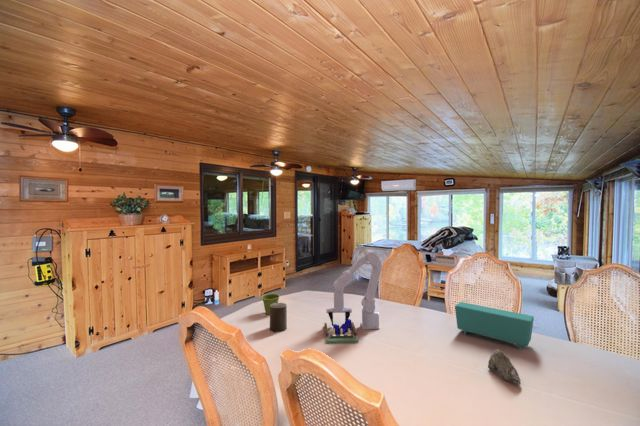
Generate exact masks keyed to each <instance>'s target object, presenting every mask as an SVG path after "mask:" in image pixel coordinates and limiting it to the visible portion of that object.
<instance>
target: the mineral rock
mask: <svg viewBox="0 0 640 426" xmlns="http://www.w3.org/2000/svg"><path fill="white" fill-rule="evenodd" d="M487 363H488V364H487V368H488V369H489V370H491V371H493V373H494V374H496V375H498V376H499V378H502V380H504V381H508V382H511V383H514V384H516V385H518V386H519V385H521V381H522V380H521V378H520V375H519V373H518V370H517V369H516V367H514V365H513V364H512V362H511V360H510V357H509V356H508V354H505V352H504V351H501V350H500V349H497V348H496V349H495V350H493V352H492V353H491V354H490V357H489V359H488V362H487Z"/></svg>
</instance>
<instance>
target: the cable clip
mask: <svg viewBox="0 0 640 426" xmlns="http://www.w3.org/2000/svg"><path fill="white" fill-rule="evenodd" d="M351 322H352V319H350V318H348V319H345V318H344V323H342V324H341V326H340V325H339V324H336V323H333V326H332V327H333V328H332V330H333V329H335V335H341V331H340V329H342V334H343V335H346V334H348V328H350V332H351V331H352V327H351Z"/></svg>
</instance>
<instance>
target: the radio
mask: <svg viewBox="0 0 640 426" xmlns="http://www.w3.org/2000/svg"><path fill="white" fill-rule="evenodd" d="M454 309H455V317H456V328H457V329H458V330H461V331H464V333H463V334H464V335H466V334H467V332H469V333H473V334H477V335H481V336H484V337H488V338H493V339H496V340H501V341H504V342H507V343H511V344H515V346H516V347H517V349H519V350H521V349H522V348H524V347H528V346H529V344H530V342H531V340H532V333H533V325H534V321H535V320H534V316H533V315H528V314H524V313H520V312H515V311H508V310H505V309H504V310H503V309H500V308H499V309H498V308H494V307H488V306H483V305H479V304H474V303H473V304H472V303H468V302H463V301H460V302H458V303H457V304H456V305H455V306H454Z"/></svg>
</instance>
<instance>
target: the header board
mask: <svg viewBox="0 0 640 426" xmlns="http://www.w3.org/2000/svg"><path fill="white" fill-rule="evenodd" d="M340 331H341V335H335V329H333V328H332V334H330V335H329V336H328V337H325V338H326V344H358V343H359V338H358V335H357V336H354V333H353V334H351V331H350V328H348V332H347V333H346V334H342V329H340Z"/></svg>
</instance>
